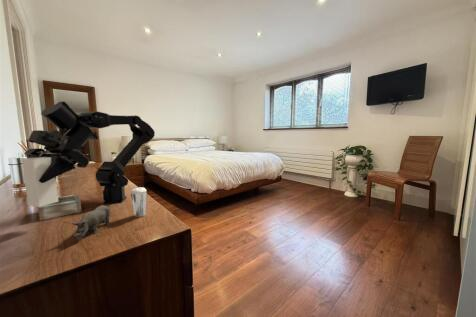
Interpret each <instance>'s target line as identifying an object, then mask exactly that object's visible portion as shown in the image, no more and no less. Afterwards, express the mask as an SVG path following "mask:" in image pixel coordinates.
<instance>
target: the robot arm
mask: <svg viewBox="0 0 476 317" xmlns="http://www.w3.org/2000/svg"><path fill="white" fill-rule="evenodd" d="M40 114H41V115H42V116H43V117H44V118H45V119H46V120H48V121H49V122H50V123H51V124H52V125H53V126H55V128H57V129H58V130H57V129H51V130H49V131H47V130H41V129H40V130H38V129H37V130H32V131H31V133H30V136H29V138H28V140H27V142H29V143H31V144H37V145H40V146H43V148H37V147H35V148H28V149H27V150H26V151H25V152H24V155H25V156H26V157H27V158H36V157H51V164H50V166H49V167H48V168H47V170H46V171H45V172H44V174H43V175H42V176H41V178H40V179H39V182H41V183H44V182H46V181H48V180H51V179H53V178H55V177H59V176H60V175H63V174H65V173H67V172H70V171H72V170H75V169H76V167H75V165H76V166H77V168H82V169H83V168H87V166H88V165H89V163H90V159H89V157H88V156H86V155H85V154H84V153H82V151H84V150H85V147H83V146H84V145H85V144H86V143H87V142H88V141H89V140H90V141H91V140H92V141H93V140H94V141H95V140H99V137H98V134H97V133H98V132H97V131H93V129H103V128H108V127H110V126H114V125H115V126H117V125H118V126H119V125H121V126H123V125H127V126H129V129H130V131H131V133H132V135H131V136H132V138H131V140H129V142H128V143H127V144H126V145H125V146H124V148H123V149H121V151H120V152H119V153H118V154H117V155H116V157H115V158H114V159H113V160H112V161H103V162H102V164H101V165H100V166H99V167H97V168H96V170H97V171H96V172H95V180H96V181H97V182H98V184H99V185H100V187H103V190H102V199H103V202H102V203H103V204H117V203H118V204H119V203H123V202H124V201H125V200H126V199H127V196H126V193H125V192H126V190H125V187H126V186H128V184H129V179H128V178H127V177H126V176H124V175H125V167H127V165H128V164H129V163H130V162H131V160H133V157H134V156H135V155H136V153H137V152H138V151H139V150H140V149H141V148H142V147H143V145H145V144H147V143H149V142H151V141H152V140H153V139H154V138H155V133H156V132H155V129H154V128H152V126H151V125H150V124H149V123H147V122H146V121H145V120H143V119H142V118H141V117H140V116H139V115H137V114H136V115H113V114H112V115H111V114H108V113H107V112H103V111H84V112H81V113H79V114H77V112H75V111H74V110H73V109H72V108H71V107H70V106H69V105H68V103H66V101H59V102H57V103H55V104H53V105H50V106H48V107H46V108H44V109H43V110H42V112H41V113H40ZM60 130H65V131H66V132H65V133H64V134H63V135H62V131H60ZM103 204H102V205H103Z"/></svg>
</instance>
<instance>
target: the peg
mask: <svg viewBox="0 0 476 317" xmlns="http://www.w3.org/2000/svg"><path fill="white" fill-rule="evenodd" d="M21 163H22V169H23V178H24V186H25V193H26V199H27V206H31V207H37V208H38V207H41V206H44V205H48V204H51V203H55V202H58V197H59V196H58V193H59V192H58V186H57V178H56V177H55V178H53V179H51V180H48V181H46V182H44V183H41V182H39V179H40V178H41V176H42V175H43V174H44V172H45V171H46V170H47V168H48V167H49V166H50V164H51V157H36V158H30V157H26V158H21Z"/></svg>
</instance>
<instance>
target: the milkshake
mask: <svg viewBox="0 0 476 317" xmlns="http://www.w3.org/2000/svg"><path fill="white" fill-rule="evenodd" d="M127 186H128V188H129V189H128V190H130V196H131V200H132V207H133V213H134V217H136V218H141V217H145V216H146V214H147V189H146V188H145V187H143V186H142V187H141V186H138V187H134V189H133V188H132V189H131V187H130V185H128V184H127Z"/></svg>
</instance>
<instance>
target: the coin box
mask: <svg viewBox="0 0 476 317" xmlns="http://www.w3.org/2000/svg"><path fill="white" fill-rule="evenodd" d="M81 205H82V204H81V199H80V197H79V194H78V193H77V194H71V195H65V196H60V197H59V196H58V202H55V203H51V204H48V205H44V206H41V207H37V208H38V215H39V221H44V220H49V219H53V218H58V217H62V216H69V215H72V214H78V213H81V212H82V206H81Z"/></svg>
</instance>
